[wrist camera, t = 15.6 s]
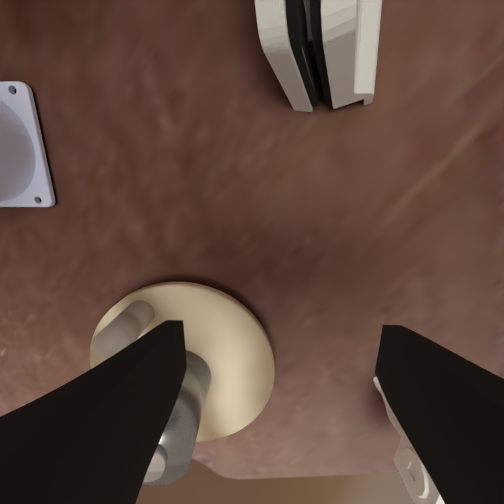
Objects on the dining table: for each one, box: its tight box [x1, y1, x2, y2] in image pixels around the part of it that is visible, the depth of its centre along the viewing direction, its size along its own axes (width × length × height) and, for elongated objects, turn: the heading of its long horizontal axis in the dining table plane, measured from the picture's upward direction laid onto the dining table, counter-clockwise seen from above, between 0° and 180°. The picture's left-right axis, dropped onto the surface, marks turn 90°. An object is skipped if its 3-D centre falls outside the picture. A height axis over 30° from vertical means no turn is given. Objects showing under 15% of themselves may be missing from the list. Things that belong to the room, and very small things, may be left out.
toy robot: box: [373, 377, 445, 504], centre depth 16 cm, size 4×8×12 cm, turn 175°
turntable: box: [90, 281, 275, 442], centre depth 18 cm, size 15×15×5 cm
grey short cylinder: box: [142, 350, 211, 486], centre depth 16 cm, size 5×5×7 cm
